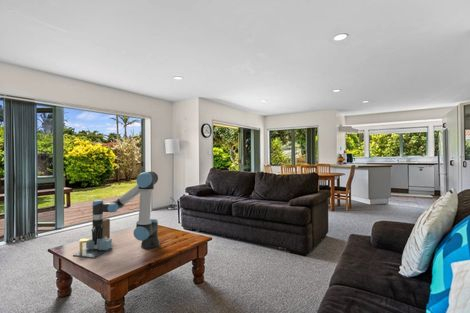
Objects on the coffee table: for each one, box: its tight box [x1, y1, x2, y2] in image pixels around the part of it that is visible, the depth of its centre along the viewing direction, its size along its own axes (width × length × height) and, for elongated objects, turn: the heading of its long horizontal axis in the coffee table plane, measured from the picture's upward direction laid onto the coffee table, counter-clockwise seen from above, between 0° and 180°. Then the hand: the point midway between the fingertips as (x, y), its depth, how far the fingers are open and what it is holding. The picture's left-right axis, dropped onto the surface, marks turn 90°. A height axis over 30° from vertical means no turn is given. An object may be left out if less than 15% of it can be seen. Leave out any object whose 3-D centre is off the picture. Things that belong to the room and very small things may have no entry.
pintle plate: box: [72, 237, 113, 259], centre depth 197 cm, size 20×20×11 cm
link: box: [85, 237, 113, 250], centre depth 202 cm, size 18×7×7 cm, turn 88°
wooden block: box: [92, 217, 111, 239], centre depth 221 cm, size 10×10×20 cm
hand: (97, 247), depth 202 cm, fingers closed on link, 3 cm apart
